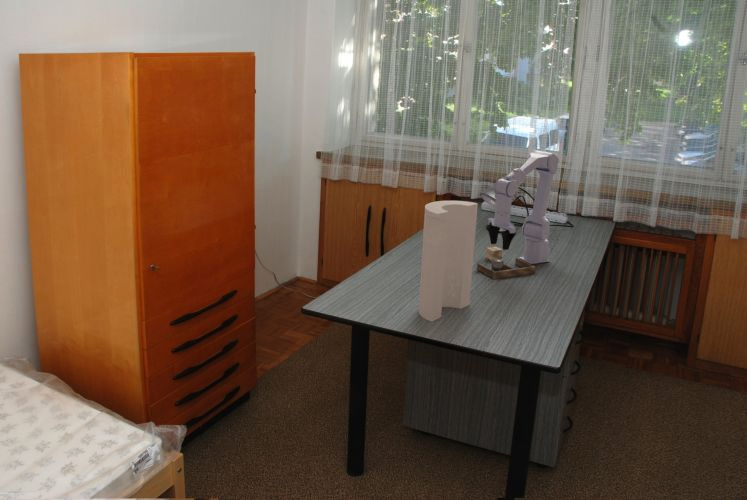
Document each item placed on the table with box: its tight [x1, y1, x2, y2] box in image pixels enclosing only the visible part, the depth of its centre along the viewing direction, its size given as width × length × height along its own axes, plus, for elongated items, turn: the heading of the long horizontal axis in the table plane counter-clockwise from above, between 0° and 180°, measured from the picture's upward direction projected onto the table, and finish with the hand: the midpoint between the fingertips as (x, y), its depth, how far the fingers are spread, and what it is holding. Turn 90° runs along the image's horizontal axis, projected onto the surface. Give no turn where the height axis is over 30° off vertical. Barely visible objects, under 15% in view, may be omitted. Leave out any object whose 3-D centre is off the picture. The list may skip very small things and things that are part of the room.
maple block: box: [485, 246, 504, 262], centre depth 295 cm, size 4×4×4 cm
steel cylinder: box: [490, 258, 505, 272], centre depth 279 cm, size 4×4×5 cm
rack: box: [476, 257, 536, 280], centre depth 281 cm, size 19×11×2 cm, turn 117°
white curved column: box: [418, 200, 478, 323], centre depth 237 cm, size 35×11×21 cm
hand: (499, 246), depth 276 cm, fingers open, 7 cm apart
